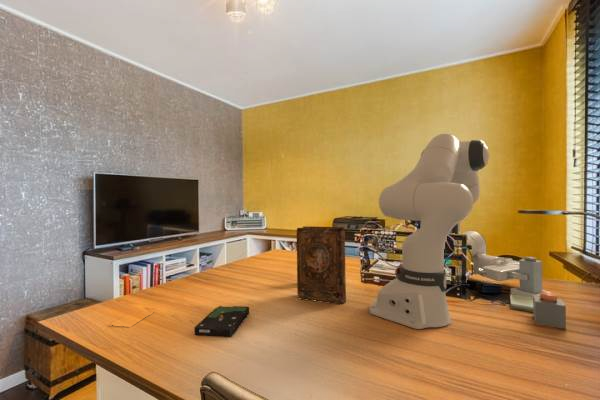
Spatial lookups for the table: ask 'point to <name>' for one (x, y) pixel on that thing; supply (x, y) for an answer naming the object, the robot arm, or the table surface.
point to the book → (321, 264)
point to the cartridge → (531, 275)
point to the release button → (548, 297)
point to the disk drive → (222, 321)
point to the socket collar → (522, 293)
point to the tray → (521, 302)
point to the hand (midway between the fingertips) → (533, 277)
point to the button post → (549, 312)
